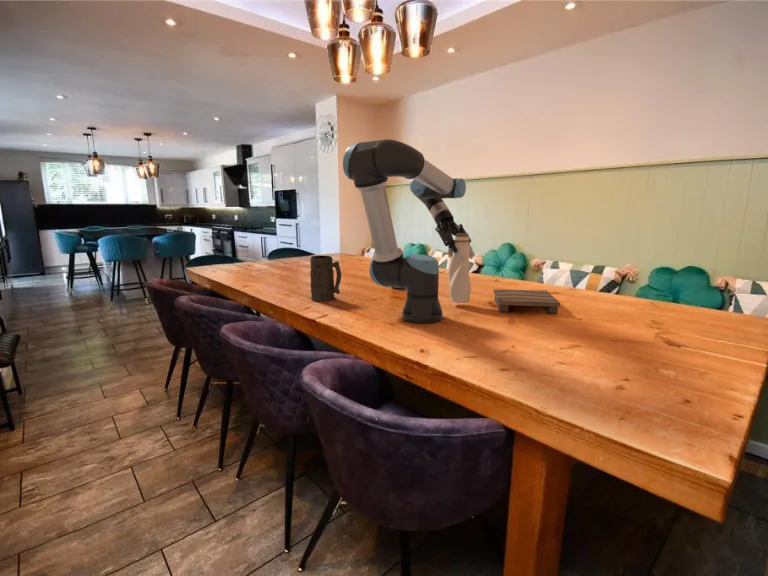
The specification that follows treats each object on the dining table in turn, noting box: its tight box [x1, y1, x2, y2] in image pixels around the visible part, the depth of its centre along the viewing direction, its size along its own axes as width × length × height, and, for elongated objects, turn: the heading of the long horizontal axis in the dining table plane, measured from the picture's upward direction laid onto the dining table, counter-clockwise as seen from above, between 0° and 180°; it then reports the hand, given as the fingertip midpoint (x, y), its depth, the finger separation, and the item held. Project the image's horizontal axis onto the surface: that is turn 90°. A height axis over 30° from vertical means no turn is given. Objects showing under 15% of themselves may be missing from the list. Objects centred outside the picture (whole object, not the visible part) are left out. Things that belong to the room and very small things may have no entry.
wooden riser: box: [493, 288, 561, 316], centre depth 159 cm, size 22×22×5 cm
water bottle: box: [447, 232, 472, 304], centre depth 160 cm, size 10×9×28 cm
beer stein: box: [309, 255, 342, 302], centre depth 175 cm, size 15×11×20 cm
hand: (467, 257), depth 155 cm, fingers closed on water bottle, 5 cm apart
